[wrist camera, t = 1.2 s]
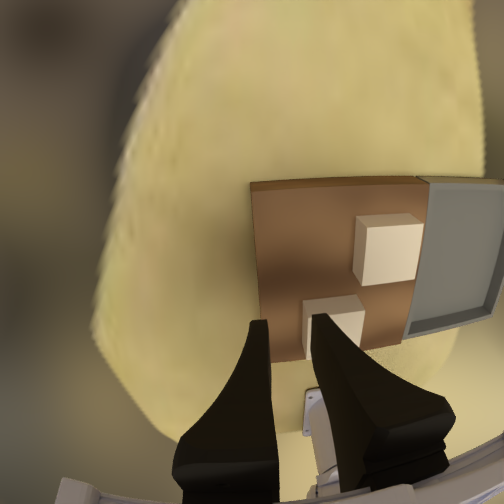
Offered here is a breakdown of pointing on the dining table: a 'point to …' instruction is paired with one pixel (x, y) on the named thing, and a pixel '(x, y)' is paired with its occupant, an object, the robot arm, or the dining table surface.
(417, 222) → the tile
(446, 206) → the tray
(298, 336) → the plate
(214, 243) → the dining table surface
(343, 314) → the tile
